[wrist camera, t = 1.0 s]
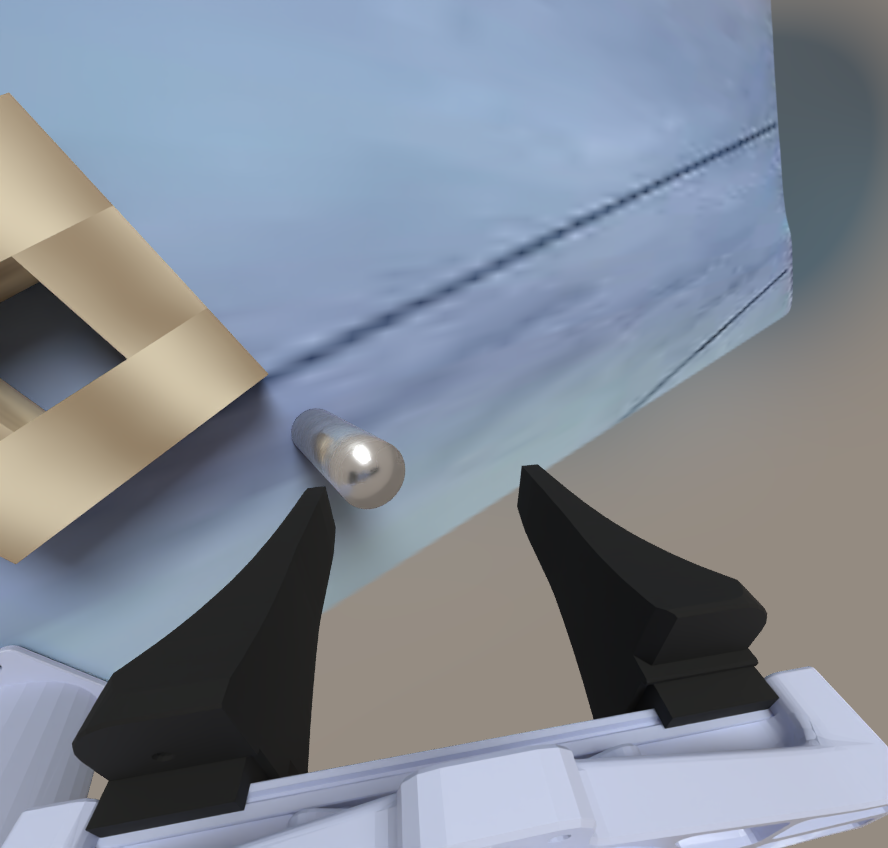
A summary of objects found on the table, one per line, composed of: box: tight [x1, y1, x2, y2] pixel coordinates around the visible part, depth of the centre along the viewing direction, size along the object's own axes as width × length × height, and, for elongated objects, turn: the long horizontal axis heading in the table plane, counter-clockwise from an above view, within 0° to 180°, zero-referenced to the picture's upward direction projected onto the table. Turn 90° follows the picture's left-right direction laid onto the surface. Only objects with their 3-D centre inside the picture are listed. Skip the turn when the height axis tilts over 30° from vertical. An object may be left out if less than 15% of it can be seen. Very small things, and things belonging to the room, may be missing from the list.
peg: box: [291, 409, 405, 509], centre depth 19 cm, size 3×3×10 cm
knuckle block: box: [0, 93, 268, 564], centre depth 15 cm, size 12×12×4 cm
